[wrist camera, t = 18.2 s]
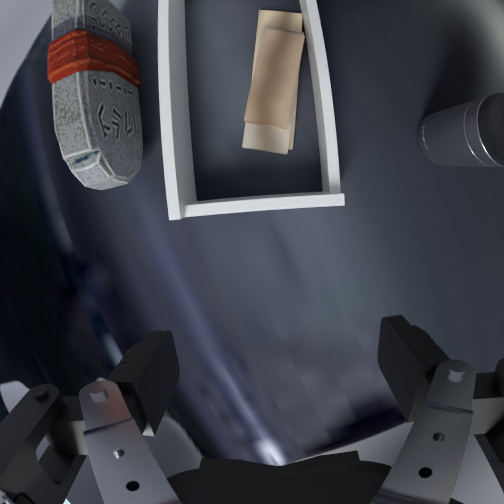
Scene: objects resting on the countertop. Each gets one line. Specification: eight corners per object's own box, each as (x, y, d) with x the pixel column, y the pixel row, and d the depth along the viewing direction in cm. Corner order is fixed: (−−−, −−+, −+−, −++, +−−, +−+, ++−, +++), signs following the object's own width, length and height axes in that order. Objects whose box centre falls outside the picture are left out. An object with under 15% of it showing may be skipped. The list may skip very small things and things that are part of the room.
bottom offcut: (301, 19, 41) (302, 13, 39) (291, 150, 47) (292, 149, 45) (259, 15, 41) (259, 9, 39) (246, 146, 47) (245, 144, 45)
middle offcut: (302, 37, 40) (303, 32, 38) (286, 154, 45) (287, 153, 43) (261, 31, 40) (261, 26, 38) (243, 148, 45) (242, 147, 43)
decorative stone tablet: (44, -5, 22) (58, 204, 32) (84, -27, 22) (101, 192, 31) (105, 30, 41) (123, 183, 50) (137, 18, 40) (157, 175, 49)
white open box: (304, -18, 38) (310, -50, 28) (332, 200, 47) (348, 206, 37) (176, -5, 40) (160, -33, 30) (188, 211, 49) (169, 220, 39)
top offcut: (303, 40, 39) (304, 35, 37) (286, 129, 42) (287, 127, 40) (264, 33, 39) (263, 28, 37) (244, 122, 42) (243, 119, 40)
